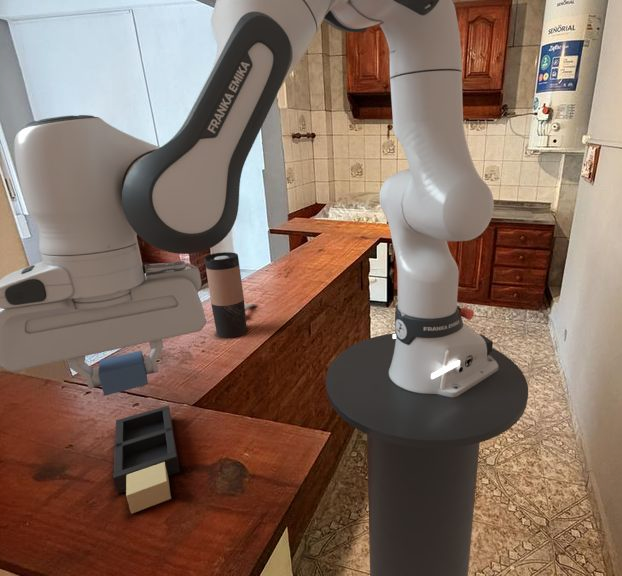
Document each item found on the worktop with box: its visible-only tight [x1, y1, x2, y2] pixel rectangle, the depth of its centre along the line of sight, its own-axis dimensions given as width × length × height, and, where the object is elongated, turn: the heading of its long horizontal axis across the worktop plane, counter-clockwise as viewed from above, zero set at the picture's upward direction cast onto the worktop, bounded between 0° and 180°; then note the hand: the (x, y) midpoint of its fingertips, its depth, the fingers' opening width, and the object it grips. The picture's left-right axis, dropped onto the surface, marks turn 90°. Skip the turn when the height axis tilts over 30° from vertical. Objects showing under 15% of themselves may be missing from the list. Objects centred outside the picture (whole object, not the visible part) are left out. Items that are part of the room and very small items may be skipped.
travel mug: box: [204, 251, 248, 339], centre depth 98 cm, size 8×8×20 cm
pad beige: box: [125, 462, 172, 515], centre depth 52 cm, size 4×4×3 cm
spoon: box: [245, 303, 256, 317], centre depth 113 cm, size 3×12×2 cm, turn 179°
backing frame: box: [113, 405, 181, 495], centre depth 60 cm, size 8×14×3 cm, turn 31°
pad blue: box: [98, 350, 149, 396], centre depth 49 cm, size 4×4×3 cm
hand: (124, 378), depth 49 cm, fingers closed on pad blue, 4 cm apart
